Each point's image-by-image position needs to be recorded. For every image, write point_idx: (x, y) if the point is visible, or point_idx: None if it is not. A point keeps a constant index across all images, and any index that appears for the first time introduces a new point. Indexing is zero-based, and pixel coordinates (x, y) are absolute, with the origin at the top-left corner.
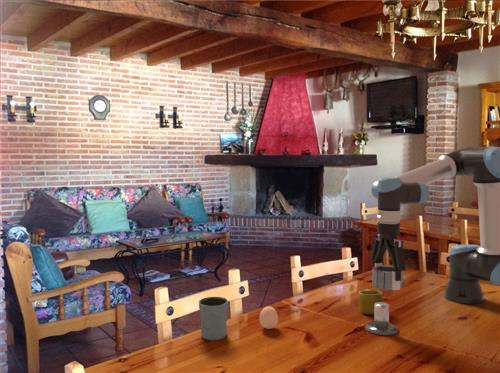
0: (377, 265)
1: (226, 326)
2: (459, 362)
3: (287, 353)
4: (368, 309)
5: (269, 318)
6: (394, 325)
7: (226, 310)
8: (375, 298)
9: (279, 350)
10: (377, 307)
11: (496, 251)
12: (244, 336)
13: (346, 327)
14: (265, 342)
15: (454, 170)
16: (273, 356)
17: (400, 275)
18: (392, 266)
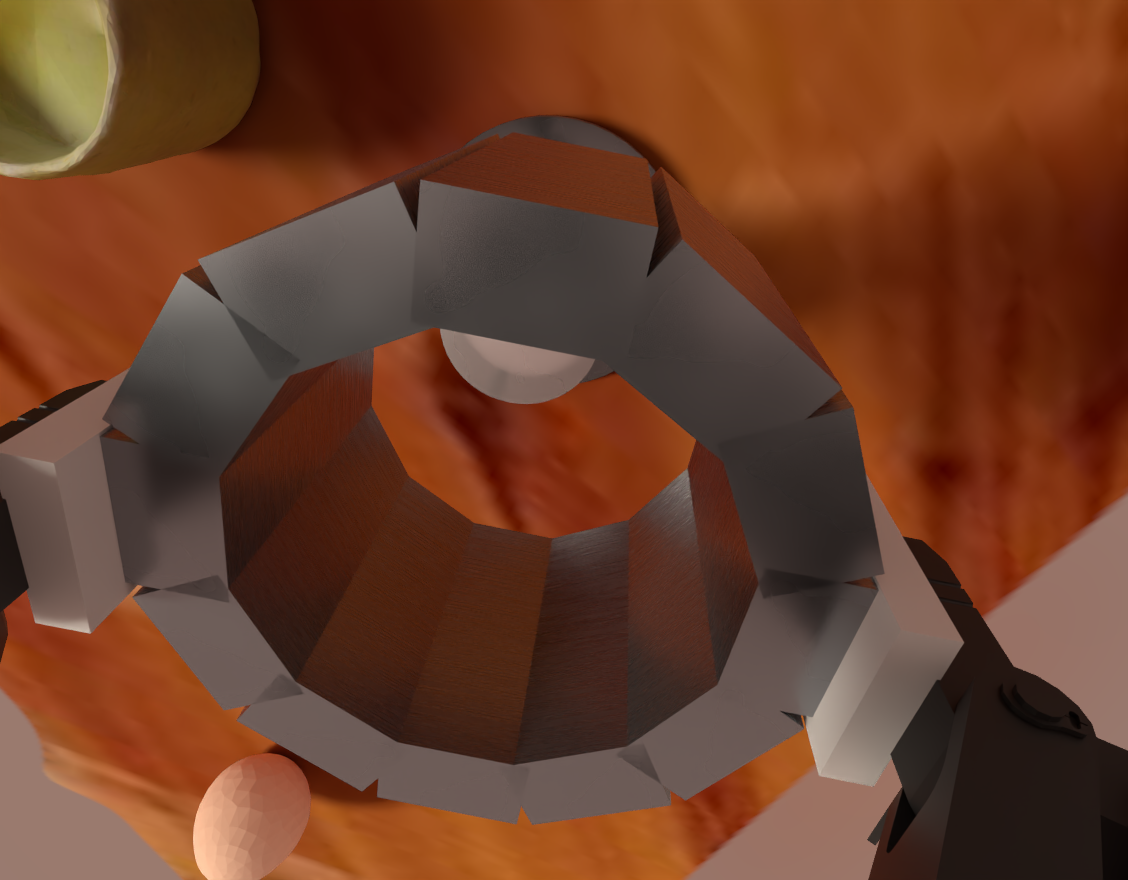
0: (115, 568)
1: None
2: None
3: (571, 826)
4: (209, 134)
5: (293, 847)
6: (571, 123)
7: None
8: (156, 68)
9: (529, 832)
10: (540, 397)
11: None
12: (337, 857)
13: (410, 451)
14: (429, 833)
15: None
16: (568, 867)
17: (981, 640)
18: (282, 279)
